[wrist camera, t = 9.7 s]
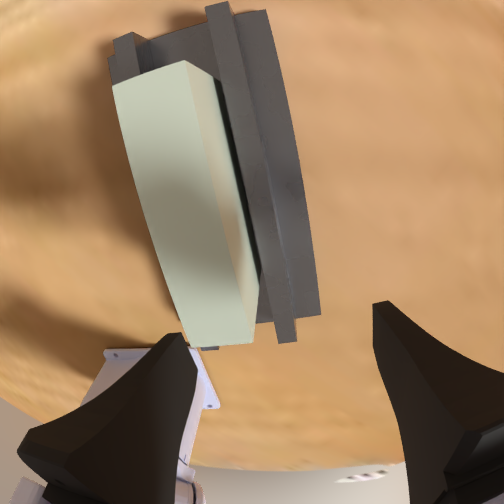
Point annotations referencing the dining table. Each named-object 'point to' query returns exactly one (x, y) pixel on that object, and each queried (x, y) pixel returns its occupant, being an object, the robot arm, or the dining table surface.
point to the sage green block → (193, 199)
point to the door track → (249, 147)
